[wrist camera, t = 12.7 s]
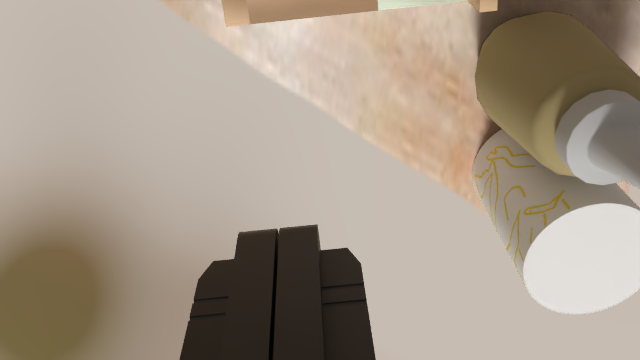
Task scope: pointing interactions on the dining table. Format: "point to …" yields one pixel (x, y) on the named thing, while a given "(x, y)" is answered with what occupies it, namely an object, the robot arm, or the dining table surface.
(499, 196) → the white cylinder
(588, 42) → the squeeze bottle
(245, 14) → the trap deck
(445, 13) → the dining table surface
